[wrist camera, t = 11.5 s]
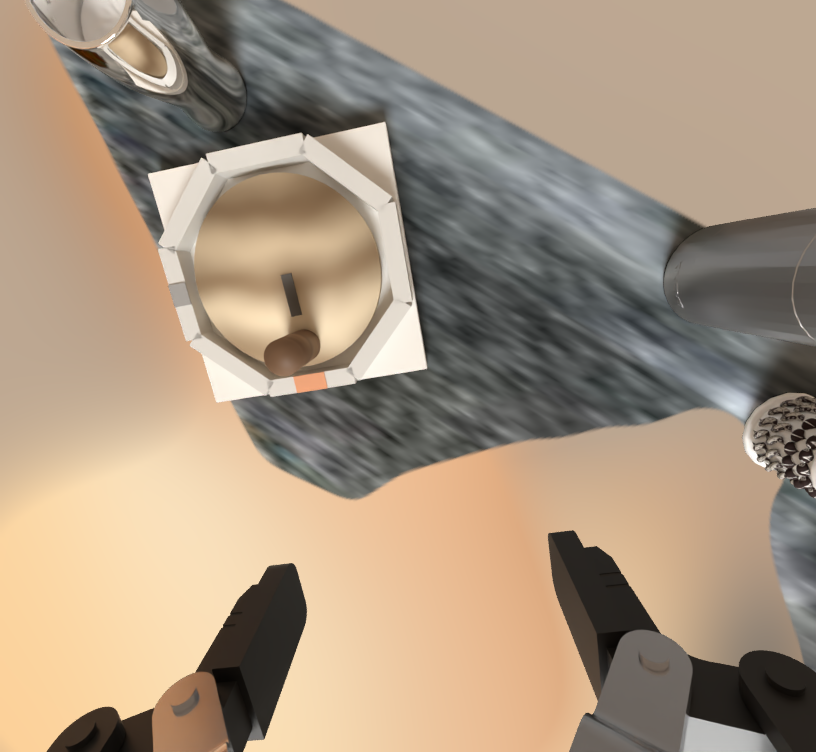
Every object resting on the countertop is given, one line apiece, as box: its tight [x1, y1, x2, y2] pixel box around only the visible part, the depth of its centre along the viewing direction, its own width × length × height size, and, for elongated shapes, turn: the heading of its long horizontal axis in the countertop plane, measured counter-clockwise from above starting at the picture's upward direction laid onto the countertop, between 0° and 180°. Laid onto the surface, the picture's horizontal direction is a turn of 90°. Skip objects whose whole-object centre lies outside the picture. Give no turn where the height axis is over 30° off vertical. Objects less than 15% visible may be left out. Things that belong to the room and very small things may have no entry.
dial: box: [194, 172, 382, 376], centre depth 34 cm, size 17×17×8 cm
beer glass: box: [24, 0, 246, 132], centre depth 30 cm, size 7×7×15 cm
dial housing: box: [148, 122, 427, 402], centre depth 38 cm, size 22×22×4 cm
